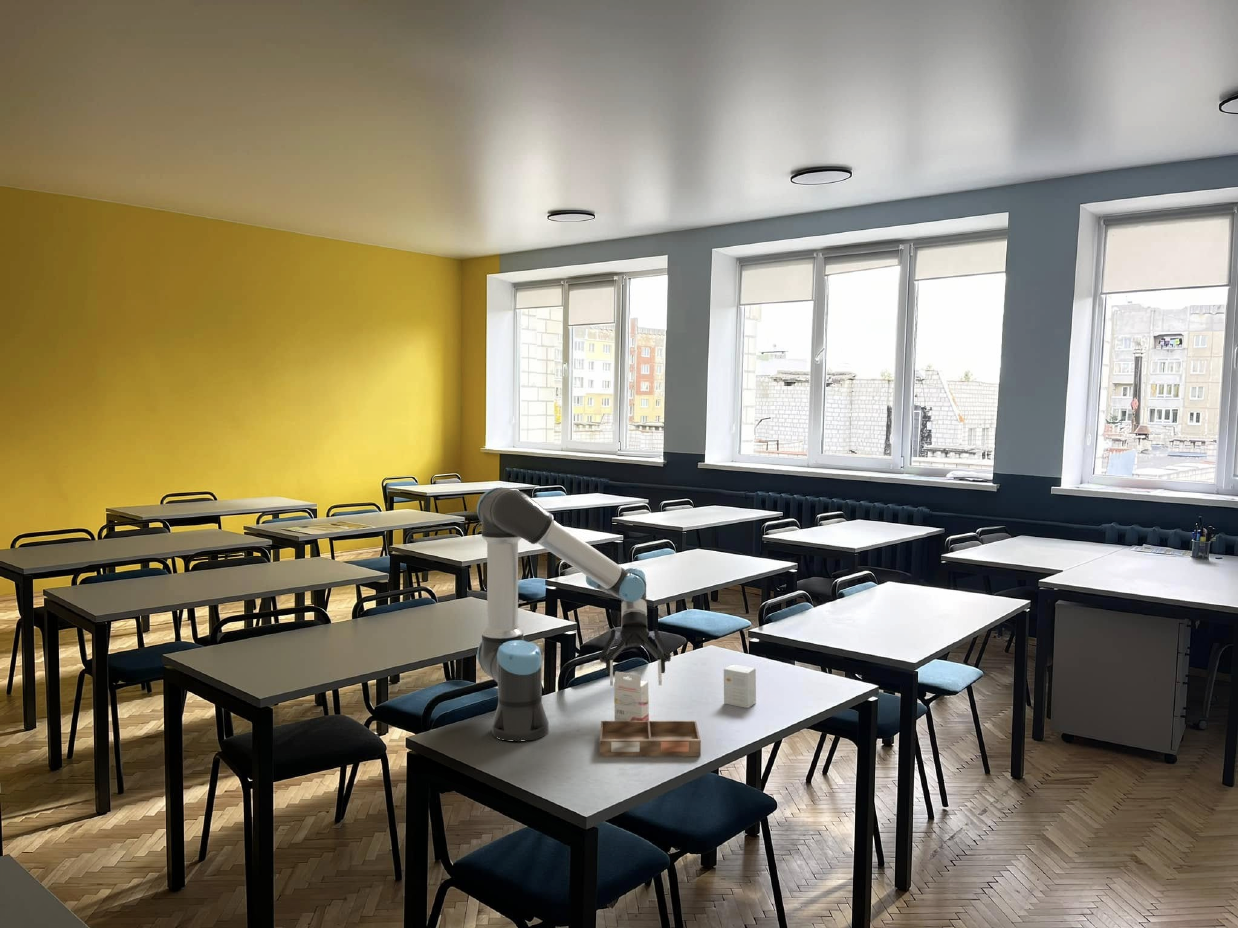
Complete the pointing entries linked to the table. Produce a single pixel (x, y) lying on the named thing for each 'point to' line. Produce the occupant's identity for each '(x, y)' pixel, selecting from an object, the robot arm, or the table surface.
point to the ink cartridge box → (630, 698)
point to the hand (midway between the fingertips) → (635, 683)
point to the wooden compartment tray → (649, 738)
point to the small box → (739, 686)
